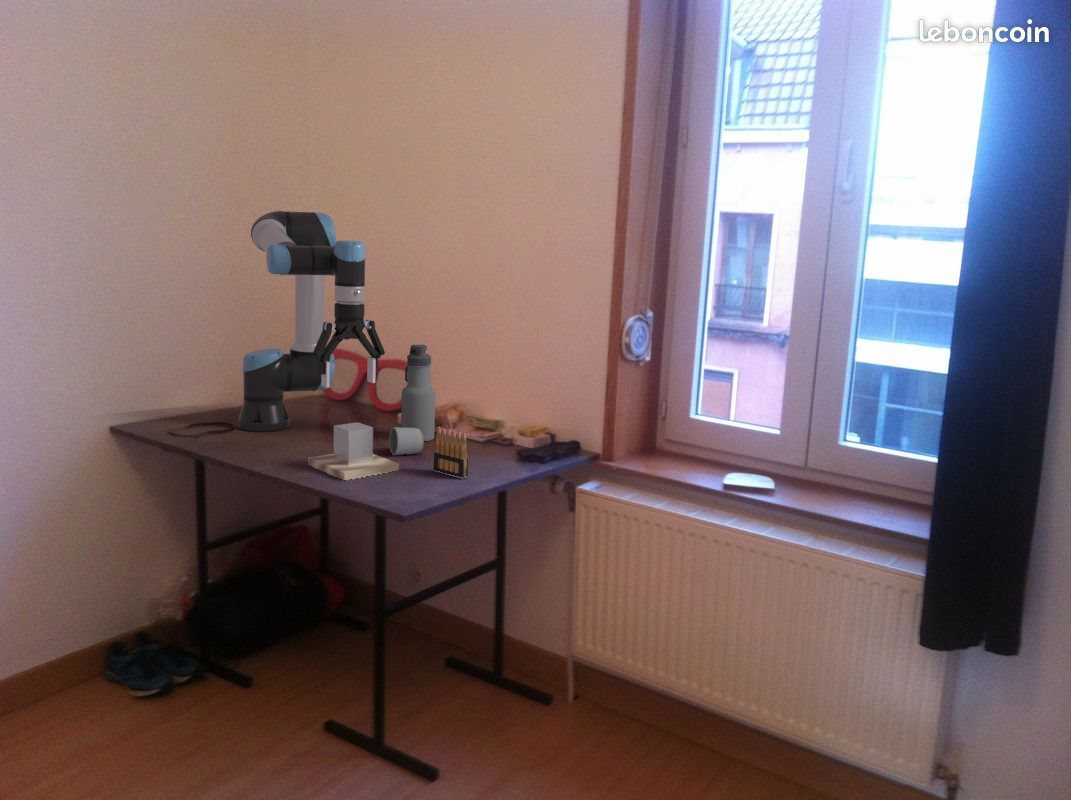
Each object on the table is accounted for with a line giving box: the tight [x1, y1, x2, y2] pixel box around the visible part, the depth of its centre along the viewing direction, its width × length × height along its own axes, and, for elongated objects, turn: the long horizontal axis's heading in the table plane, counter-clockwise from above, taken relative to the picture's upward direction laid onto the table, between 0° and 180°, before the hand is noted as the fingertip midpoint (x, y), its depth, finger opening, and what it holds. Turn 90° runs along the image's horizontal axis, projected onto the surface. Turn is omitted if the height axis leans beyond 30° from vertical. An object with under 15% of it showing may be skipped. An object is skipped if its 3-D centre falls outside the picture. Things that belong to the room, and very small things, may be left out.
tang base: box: [307, 453, 400, 481], centre depth 236 cm, size 18×16×8 cm
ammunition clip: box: [432, 426, 469, 478], centre depth 233 cm, size 11×2×12 cm, turn 51°
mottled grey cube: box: [333, 422, 374, 466], centre depth 235 cm, size 7×7×9 cm
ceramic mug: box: [388, 426, 425, 456], centre depth 254 cm, size 11×8×8 cm
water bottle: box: [400, 344, 436, 442], centre depth 269 cm, size 10×10×28 cm
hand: (348, 384), depth 236 cm, fingers open, 13 cm apart
